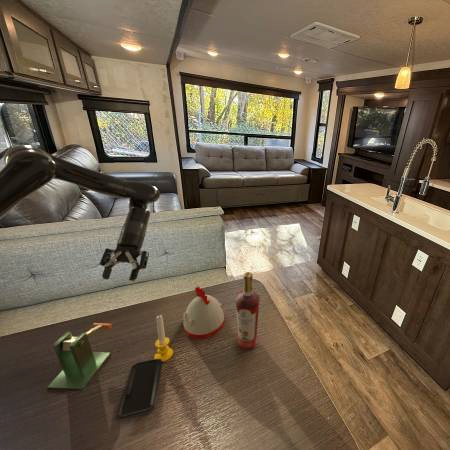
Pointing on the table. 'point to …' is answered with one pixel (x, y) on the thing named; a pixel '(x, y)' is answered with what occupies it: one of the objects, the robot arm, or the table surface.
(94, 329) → the lever
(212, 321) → the kitchen timer
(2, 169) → the robot arm
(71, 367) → the bracket
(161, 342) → the candle
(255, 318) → the liquor
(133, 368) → the phone
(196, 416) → the table surface
